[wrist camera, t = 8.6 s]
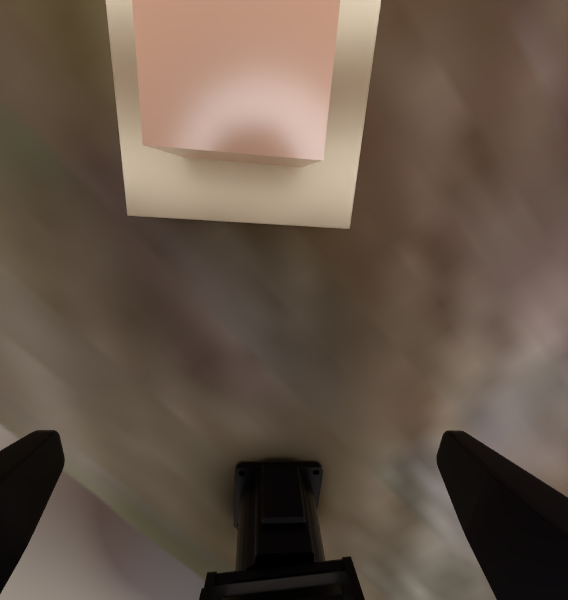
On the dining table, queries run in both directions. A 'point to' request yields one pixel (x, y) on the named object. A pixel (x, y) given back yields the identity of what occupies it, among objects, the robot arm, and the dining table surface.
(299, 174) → the base
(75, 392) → the dining table surface
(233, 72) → the cube
